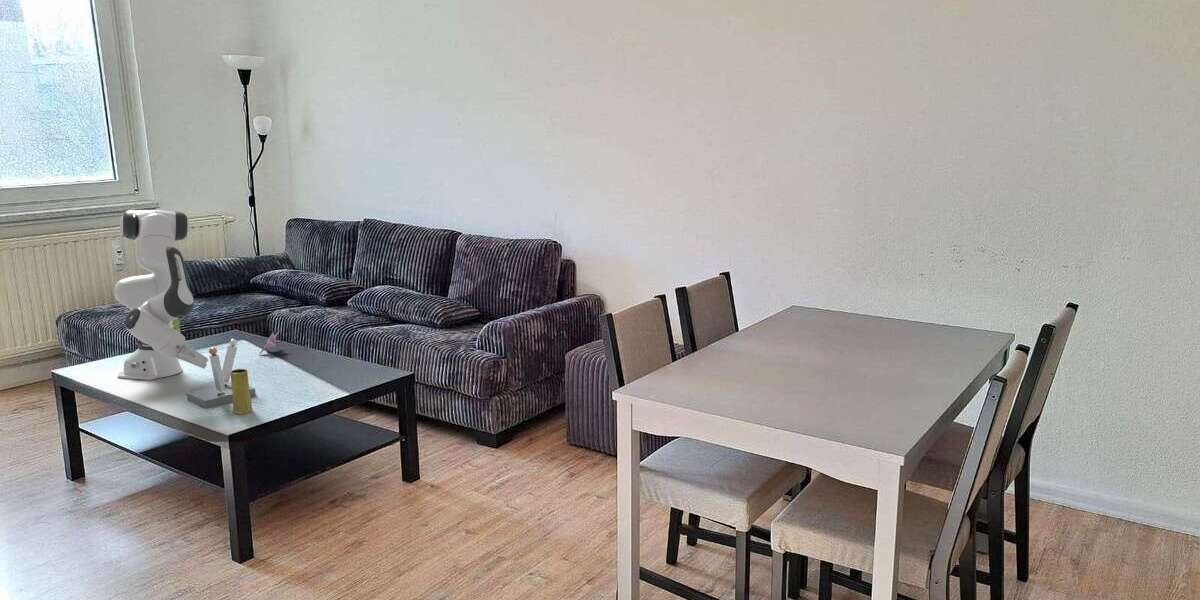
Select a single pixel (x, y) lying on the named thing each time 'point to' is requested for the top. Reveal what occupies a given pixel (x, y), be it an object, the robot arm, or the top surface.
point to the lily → (270, 343)
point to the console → (214, 396)
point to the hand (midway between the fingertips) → (203, 366)
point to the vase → (240, 391)
